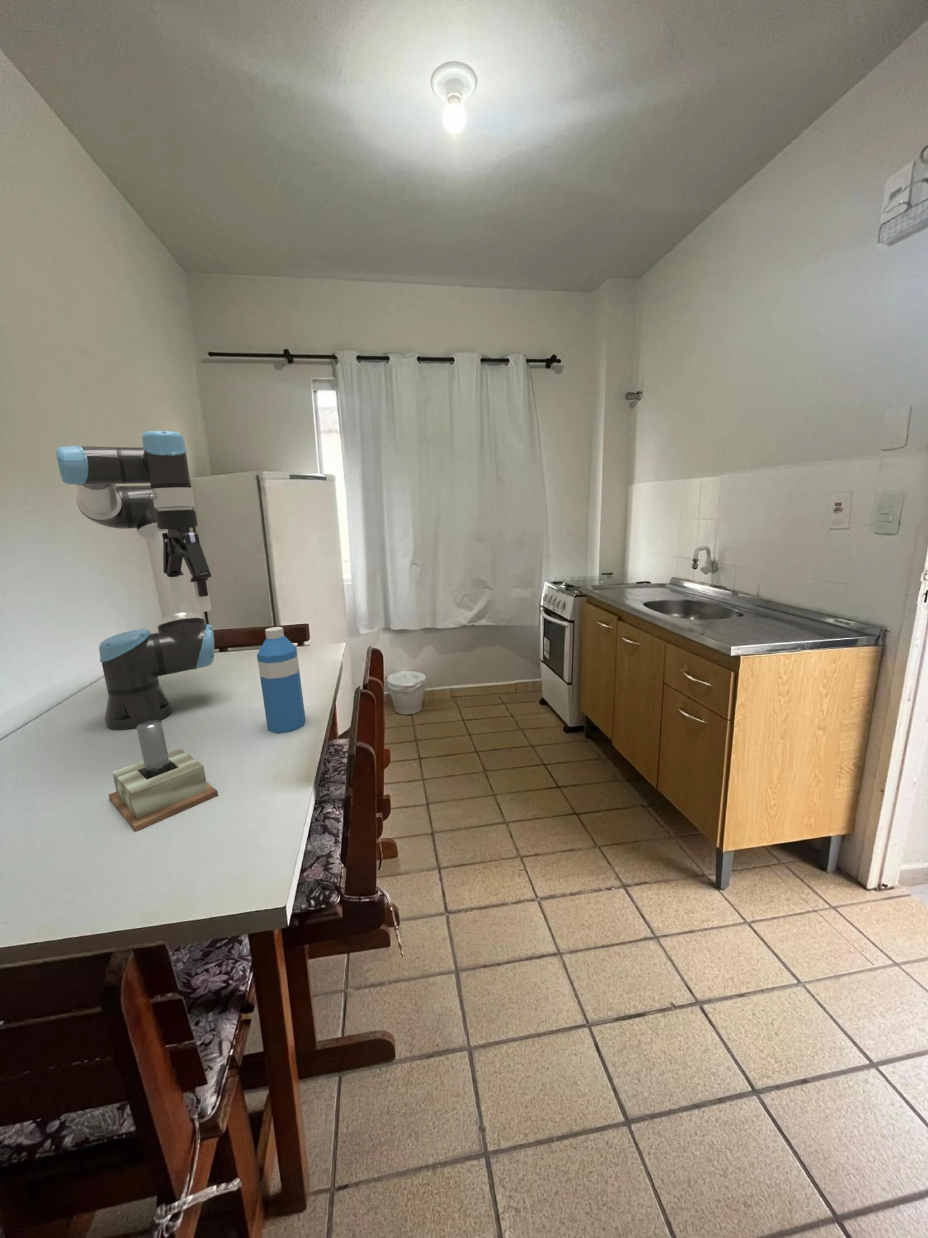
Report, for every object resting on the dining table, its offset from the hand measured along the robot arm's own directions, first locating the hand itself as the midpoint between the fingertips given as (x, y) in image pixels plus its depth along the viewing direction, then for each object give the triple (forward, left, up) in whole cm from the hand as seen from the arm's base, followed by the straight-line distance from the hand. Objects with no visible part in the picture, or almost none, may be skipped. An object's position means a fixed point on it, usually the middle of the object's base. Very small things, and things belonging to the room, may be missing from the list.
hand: (192, 608), depth 112 cm
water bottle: (+4, +16, -33) cm, 37 cm away
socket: (+15, -16, -33) cm, 39 cm away
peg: (+15, -16, -32) cm, 38 cm away
